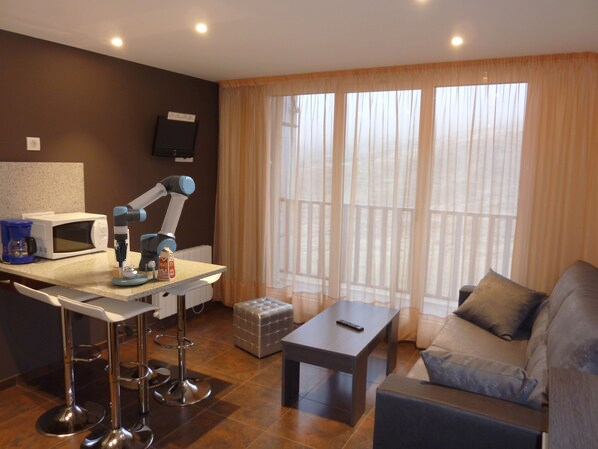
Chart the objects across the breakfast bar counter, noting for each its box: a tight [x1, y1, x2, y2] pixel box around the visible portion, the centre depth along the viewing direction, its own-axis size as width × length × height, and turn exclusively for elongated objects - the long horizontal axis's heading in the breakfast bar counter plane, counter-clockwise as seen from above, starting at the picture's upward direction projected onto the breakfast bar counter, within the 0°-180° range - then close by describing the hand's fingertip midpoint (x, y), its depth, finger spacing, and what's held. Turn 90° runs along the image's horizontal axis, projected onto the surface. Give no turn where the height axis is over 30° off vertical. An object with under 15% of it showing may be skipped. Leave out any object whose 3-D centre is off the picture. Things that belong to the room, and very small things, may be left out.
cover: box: [122, 267, 139, 280], centre depth 265 cm, size 8×8×6 cm
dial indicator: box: [145, 261, 160, 283], centre depth 271 cm, size 5×6×12 cm
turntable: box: [111, 268, 149, 286], centre depth 265 cm, size 20×20×6 cm
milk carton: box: [156, 247, 177, 282], centre depth 278 cm, size 9×9×20 cm
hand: (121, 272), depth 272 cm, fingers closed
